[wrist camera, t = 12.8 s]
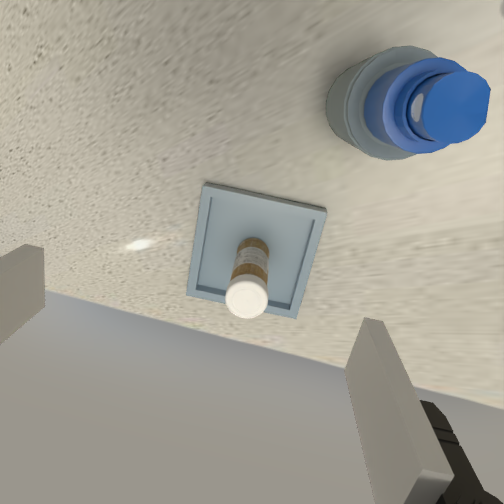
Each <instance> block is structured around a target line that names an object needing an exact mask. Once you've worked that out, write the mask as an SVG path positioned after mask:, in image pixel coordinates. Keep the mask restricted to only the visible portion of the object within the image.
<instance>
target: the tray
mask: <svg viewBox="0 0 504 504" xmlns="http://www.w3.org/2000/svg"><path fill="white" fill-rule="evenodd" d="M326 216H327V211H326V208H322V207H317V206H313V205H308V204H304V203H299V202H294V201H290V200H285V199H281V198H276V197H272V196H267V195H262V194H258V193H253V192H249V191H244V190H240V189H235V188H230V187H226V186H221V185H217V184H212V183H208V182H206V183H205V184H204V185H203V187H202V194H201V200H200V207H199V213H198V220H197V226H196V233H195V240H194V246H193V253H192V259H191V266H190V272H189V279H188V285H187V292H186V295H187V296H192V297H196V298H201V299H206V300H210V301H215V302H219V303H224V304H226V302H225V295H226V290H227V286H228V284H229V283H230V280H231V274H232V270H233V266H234V262H235V258H236V256H237V249H238V247H239V245H240V244H241V243H242V242H243V241H244V240H246V239H249V238H257V239H260V240H262V241H263V242H264V243H265V244H266V245H267V247H268V249H269V259H268V260H269V270H268V282H267V288H268V293H269V294H268V304H267V307H266V309H265V310H264V312H266V313H270V314H275V315H280V316H284V317H289V318H293V319H296V318H297V315H298V311H299V308H300V304H301V301H302V298H303V294H304V291H305V287H306V284H307V280H308V277H309V274H310V270H311V267H312V263H313V260H314V257H315V253H316V250H317V246H318V243H319V240H320V236H321V233H322V229H323V226H324V223H325V219H326Z"/></svg>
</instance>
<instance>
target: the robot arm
mask: <svg viewBox="0 0 504 504" xmlns="http://www.w3.org/2000/svg"><path fill="white" fill-rule="evenodd" d="M44 307H45V282H44V248H41V247H37V246H32V245H28V244H24V245H22V246H20V247H19V248H17V249H15V250H13V251H11V252H10V253H8V254H6V255H4V256H2V257H0V345H1V344H2V343H3V342H4V341H5V340H7V339H8V338H9V337H10V336H11V335H12V334H13V333H15V332H16V331H17V330H18V329H19V328H20V327H22V326H23V325H24V324H25V323H26V322H27V321H29V320H30V319H31V318H32V317H33V316H34V315H36V314H37V313H38V312H39V311H40V310H41V309H43V308H44ZM344 372H345V376H346V381H347V385H348V389H349V394H350V398H351V402H352V406H353V411H354V415H355V419H356V424H357V428H358V432H359V436H360V440H361V445H362V449H363V454H364V458H365V462H366V467H367V471H368V475H369V479H370V484H371V488H372V492H373V497H374V501H375V504H503V503H502V502H501V501H500V500H499V499H497V498H496V497H495V496H493V495H491V494H489V493H488V492H486V491H484V489H483V487H482V485H481V483H480V481H479V480H478V478H477V476H476V474H475V472H474V470H473V468H472V466H471V464H470V462H469V460H468V458H467V457H466V455H465V453H464V451H463V449H462V447H461V446H459V442H458V439H457V438H456V436H455V434H453V430H452V428H451V426H450V424H449V422H448V420H447V418H446V416H445V415H444V414H442V412H441V411H440V410H439V409H438V408H437V407H436V406H435V405H434V403H431V402H427V401H422V400H419V398H418V396H417V394H416V392H415V389H414V387H413V385H412V383H411V381H410V379H409V376H408V374H407V372H406V370H405V368H404V366H403V363H402V361H401V359H400V357H399V355H398V353H397V351H396V348H395V346H394V344H393V342H392V340H391V338H390V335H389V333H388V331H387V329H386V327H385V325H384V322H383V321H379V320H375V319H370V318H365V317H364V320H363V322H362V325H361V328H360V330H359V333H358V336H357V338H356V341H355V343H354V346H353V349H352V351H351V354H350V357H349V359H348V362H347V365H346V367H345V370H344Z"/></svg>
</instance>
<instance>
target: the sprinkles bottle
mask: <svg viewBox="0 0 504 504" xmlns="http://www.w3.org/2000/svg"><path fill="white" fill-rule="evenodd" d="M268 259H269V249H268V247H267V245H266V244H265V243H264V242H263V241H262V240H260V239H257V238H249V239H246V240H244V241H243V242H242V243H241V244H240V245H239V247H238V249H237V256H236V258H235V262H234V266H233V270H232V274H231V280H230V283H229V284H228V286H227V290H226V295H225V302H226V305H227V307H228V309H229V310H230V311H231V312H232V313H233V314H234V315H236V316H238V317H241V318H254V317H257V316H259V315H260V314H261V313H263V312H264V310H265V309H266V307H267V304H268V294H269V293H268V288H267V282H268V270H269V260H268Z"/></svg>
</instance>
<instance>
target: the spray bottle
mask: <svg viewBox="0 0 504 504" xmlns="http://www.w3.org/2000/svg"><path fill="white" fill-rule="evenodd" d="M490 90H491V89H490V87H489V85H488V83H487V82H486V80H485V79H483V78H482V77H481V76H479V75H478V74H476V73H472V72H468V71H466V69H464V68H463V67H462V66H460V65H459V64H458V63H456V62H455V61H452V60H448V59H445V58H441V57H439V58H438V57H437V56H436V55H434V54H433V53H432V52H430V51H428V50H425V49H421V48H418V47H414V46H402V47H392V48H390V49H388V50H385V51H383V52H381V53H379V54H376V55H374V56H372V57H370V58H368V59H366V60H364V61H363V62H361V63H359V64H357V65H355V66H353V67H351V68H349V69H347V70H346V71H345V72H344V73H342V74H341V75H340V76H339V77H338V78H337V79H336V81H335V82H334V84H333V85H332V87H331V88H330V91H329V94H328V97H327V101H326V116H327V119H328V122H329V125H330V127H331V128H332V130H333V131H334V132H335V134H336V135H337V136H338V137H340V138H341V139H343V140H344V141H346V142H347V143H349V144H351V145H352V146H354V147H356V148H357V149H359V150H361V151H362V152H364V153H366V154H367V155H369V156H371V157H375V158H379V159H382V160H400V159H405V158H408V157H410V156H413V155H416V154H422V153H432V152H435V151H437V150H440V149H443V148H445V147H446V146H448V145H449V144H452V143H459V142H462V141H465V140H467V139H469V138H471V137H472V136H474V135H475V134H476V133H478V132H479V131H480V129H481V128H482V127H483V125H484V124H485V123H486V117H487V111H488V104H489V97H490Z"/></svg>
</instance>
